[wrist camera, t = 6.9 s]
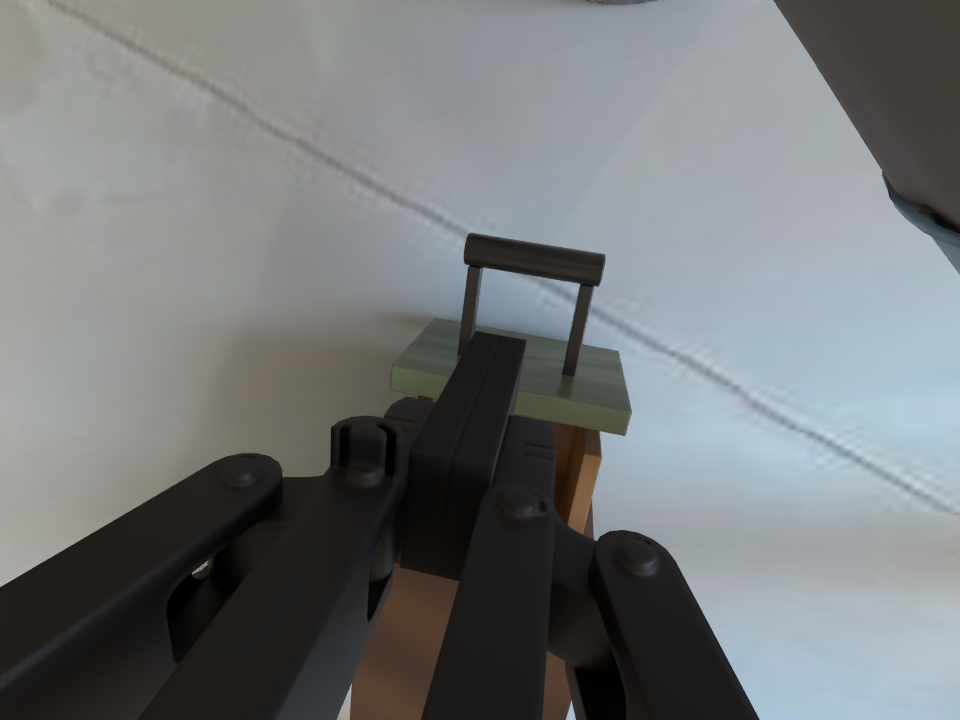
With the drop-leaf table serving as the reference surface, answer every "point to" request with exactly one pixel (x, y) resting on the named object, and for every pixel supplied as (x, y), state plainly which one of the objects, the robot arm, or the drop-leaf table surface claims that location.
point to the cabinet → (425, 650)
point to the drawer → (536, 365)
